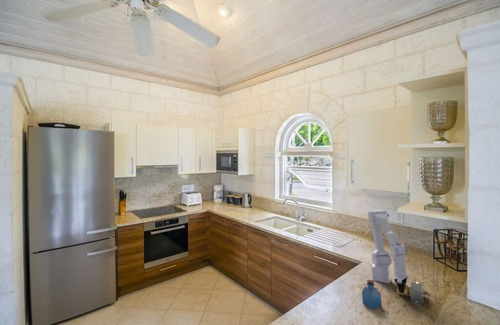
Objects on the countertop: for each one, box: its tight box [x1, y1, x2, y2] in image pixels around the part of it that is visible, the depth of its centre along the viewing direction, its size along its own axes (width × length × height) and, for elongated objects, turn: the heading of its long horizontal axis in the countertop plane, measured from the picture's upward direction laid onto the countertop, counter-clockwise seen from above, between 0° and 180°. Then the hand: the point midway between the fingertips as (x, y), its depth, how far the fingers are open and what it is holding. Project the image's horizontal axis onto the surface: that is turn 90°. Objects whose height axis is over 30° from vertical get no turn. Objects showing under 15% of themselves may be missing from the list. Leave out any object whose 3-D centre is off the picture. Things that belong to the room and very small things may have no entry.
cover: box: [414, 280, 426, 294], centre depth 135 cm, size 5×5×4 cm
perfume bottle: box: [361, 279, 382, 310], centre depth 124 cm, size 6×6×12 cm
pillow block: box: [409, 281, 424, 307], centre depth 127 cm, size 5×16×6 cm, turn 142°
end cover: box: [396, 284, 411, 297], centre depth 130 cm, size 9×5×5 cm, turn 52°
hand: (401, 291), depth 131 cm, fingers closed on end cover, 3 cm apart
